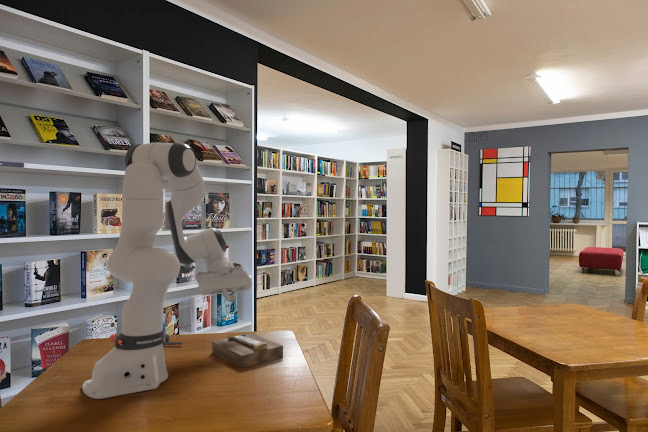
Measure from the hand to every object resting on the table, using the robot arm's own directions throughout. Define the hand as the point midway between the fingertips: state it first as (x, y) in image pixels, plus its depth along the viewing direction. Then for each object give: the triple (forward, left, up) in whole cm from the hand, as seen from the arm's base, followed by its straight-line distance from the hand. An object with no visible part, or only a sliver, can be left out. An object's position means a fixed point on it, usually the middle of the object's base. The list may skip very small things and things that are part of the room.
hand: (232, 300), depth 158 cm
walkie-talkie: (-18, +23, -18) cm, 34 cm away
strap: (0, -10, -13) cm, 16 cm away
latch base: (0, -10, -17) cm, 20 cm away
